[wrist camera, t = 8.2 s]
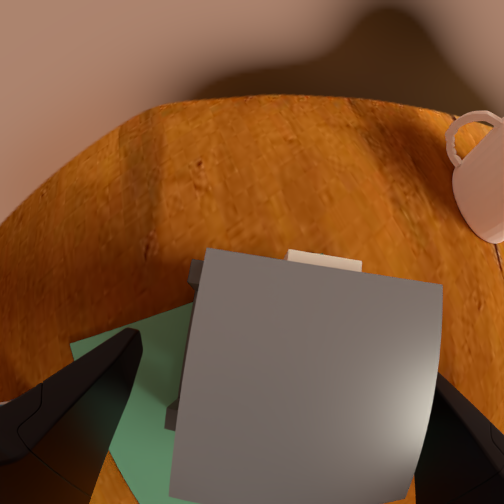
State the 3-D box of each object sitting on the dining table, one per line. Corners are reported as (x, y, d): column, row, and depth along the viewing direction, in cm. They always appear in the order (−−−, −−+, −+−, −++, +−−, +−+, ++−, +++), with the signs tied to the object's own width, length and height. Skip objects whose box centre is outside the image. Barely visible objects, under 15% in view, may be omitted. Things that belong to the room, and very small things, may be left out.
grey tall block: (296, 399, 15) (404, 498, 3) (218, 389, 15) (168, 496, 3) (308, 316, 16) (441, 258, 5) (232, 305, 16) (213, 217, 5)
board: (152, 515, 12) (150, 519, 12) (74, 344, 16) (69, 343, 15) (390, 434, 15) (394, 437, 14) (320, 255, 19) (322, 253, 18)
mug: (513, 217, 21) (566, 181, 12) (489, 263, 19) (561, 227, 10) (451, 133, 24) (493, 81, 15) (416, 160, 22) (469, 93, 13)
